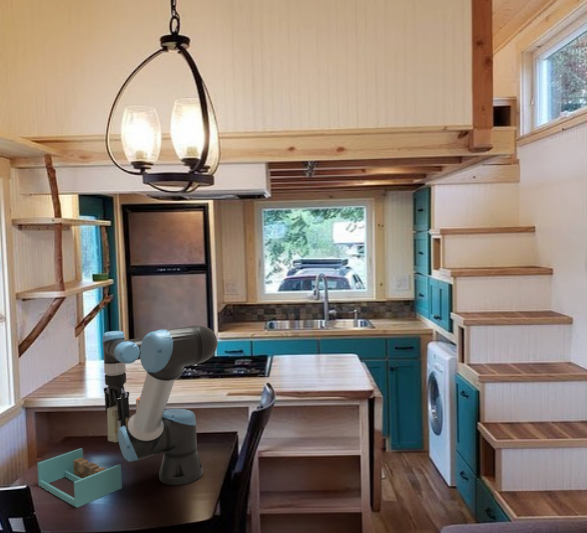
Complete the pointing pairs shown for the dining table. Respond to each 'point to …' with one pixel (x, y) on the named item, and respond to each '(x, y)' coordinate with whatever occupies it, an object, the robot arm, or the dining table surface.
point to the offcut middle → (89, 469)
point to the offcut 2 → (99, 470)
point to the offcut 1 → (79, 467)
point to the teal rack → (78, 479)
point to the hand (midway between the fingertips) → (118, 434)
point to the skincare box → (113, 423)
